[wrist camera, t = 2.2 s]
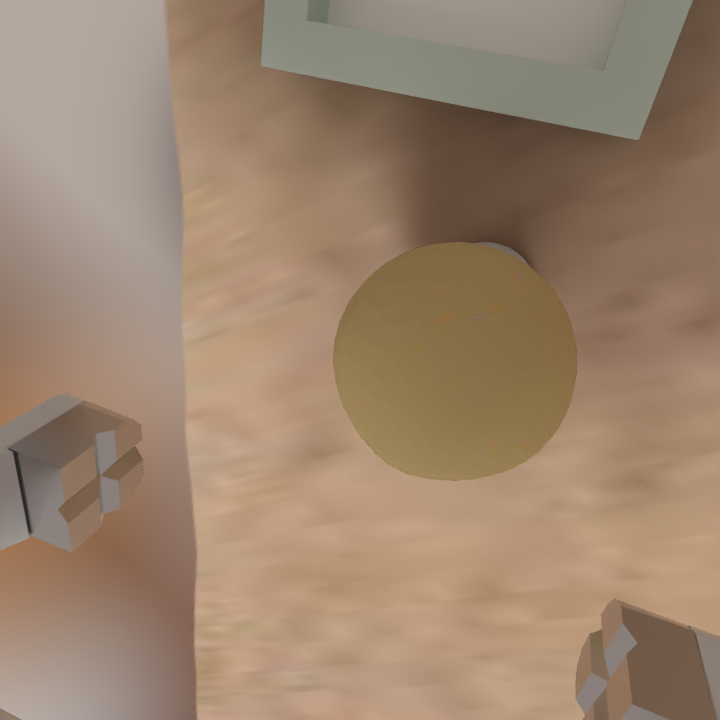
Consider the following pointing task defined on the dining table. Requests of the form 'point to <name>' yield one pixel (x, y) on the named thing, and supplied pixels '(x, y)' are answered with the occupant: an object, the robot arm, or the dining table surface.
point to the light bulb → (455, 361)
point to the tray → (489, 53)
